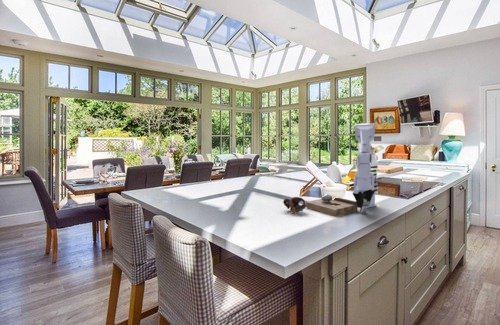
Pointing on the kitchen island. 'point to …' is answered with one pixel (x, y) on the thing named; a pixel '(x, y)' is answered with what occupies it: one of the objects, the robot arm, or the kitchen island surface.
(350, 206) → the block
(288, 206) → the brown animal figurine
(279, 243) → the kitchen island surface
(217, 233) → the kitchen island surface
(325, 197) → the seated shaft
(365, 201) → the stepped metal shaft
